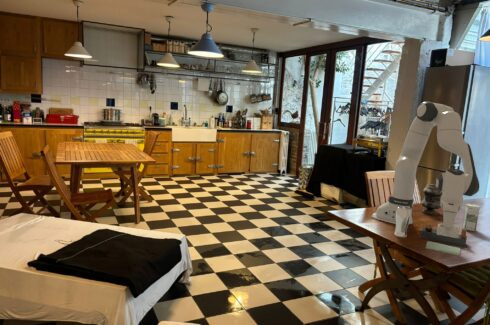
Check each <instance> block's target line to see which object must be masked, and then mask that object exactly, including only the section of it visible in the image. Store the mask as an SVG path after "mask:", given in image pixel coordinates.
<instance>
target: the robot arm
mask: <svg viewBox="0 0 490 325" xmlns="http://www.w3.org/2000/svg"><path fill="white" fill-rule="evenodd" d="M415 113H416V115H415V118H414V119H413V120H412V122H411V124H410V126H409V130H408V131H407V135H406V137H405V140H404V142H403V145H402V148H401V152H400V154H399V156H398V159H397V160H396V162H395V165H394V166H395V167H394V175H393V176H394V179H393V189H392V194H390V195H389V196H388V199H387V202H384V203H383V204H380V205H379V206H378V207H377V210H376V212H373V213H372V215H371V218H372V219H375V220H379V221H382V222H385V223H386V222H387V223H390V224H394V225H396V210H397V206H406V207H409V208H411V216H410V221H409V224H408V225H412V224H413V215H412V214H413V206H414V191H415V187H416V186H415V185H416V175H417V168H418V166H419V163H420V160H421V159H422V155H423V154H424V151H425V148H426V145H427V143H428V141H429V138H430V136H431V133H432V130H433V128H434V127H436V141H437V144H438V146H439V147H440V148H442V149H443V150H445V151H447V152H450V153H453V154H454V155H456V156H458V157H459V158H460V159H461V161H462V162H461V163H462V166H463V167H462V168H463V170H461V169H457V168H447V169H446V170H445V172H443V173H439V174H438V175H437V176H436V177H435V183H434V185H435V188H436V189H437V190H438V191H439V192H443V193H442V196H441V199H440V206H441V210H442V212H443V213H442V218H443V220H442V223H443V226H444V227H445V234H447V235H449V233H450V228H453V226H454V224H455V222H456V218H457V214H459V212H460V211H462V209H463V201H464V197H465V196H466V197H472V196H474V195H476V194H477V193H478V192H479V191H480V181H479V178H478V175H477V171H476V165H475V161H474V160H475V159H474V157H473V151H472V148H471V145H470V144H469V143H468V142H466V140H465V139H464V136H463V125H462V118H461V116H460V113H459V111H458V110H457V109H456V108H454V107H452V106H448V105H446V104H442V103H436V102H432V101H423V102H421V103H420V104H419V105H418V106H417V108H416V112H415Z"/></svg>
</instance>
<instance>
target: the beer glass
mask: <svg viewBox="0 0 490 325" xmlns="http://www.w3.org/2000/svg"><path fill="white" fill-rule="evenodd" d="M410 216H411V208H409V207H406V206H397V210H396V224H395V230H394V233H393V234H394V236H396V237H398V238H403V239H404V238H407V236H408V233H407V231H408V226H409V225H410V224H409V221H410Z"/></svg>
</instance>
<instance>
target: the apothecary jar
mask: <svg viewBox="0 0 490 325" xmlns="http://www.w3.org/2000/svg"><path fill="white" fill-rule="evenodd" d="M422 191H423V194H424V196H423V199H422V200H421V202H420V204H421V205H422V207H424V209H422V210H421V212H422V213H424V214H427V215H435V216H436V215H439V214H440V213H439V212H438V211H437V210H439V209H442V207H441V206H440V203H441V196H442V193H443V192H439V191H438V190H437V189H436V188H435V184H430V183H427V184H426V186H425V187H424V188H423V189H422Z"/></svg>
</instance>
